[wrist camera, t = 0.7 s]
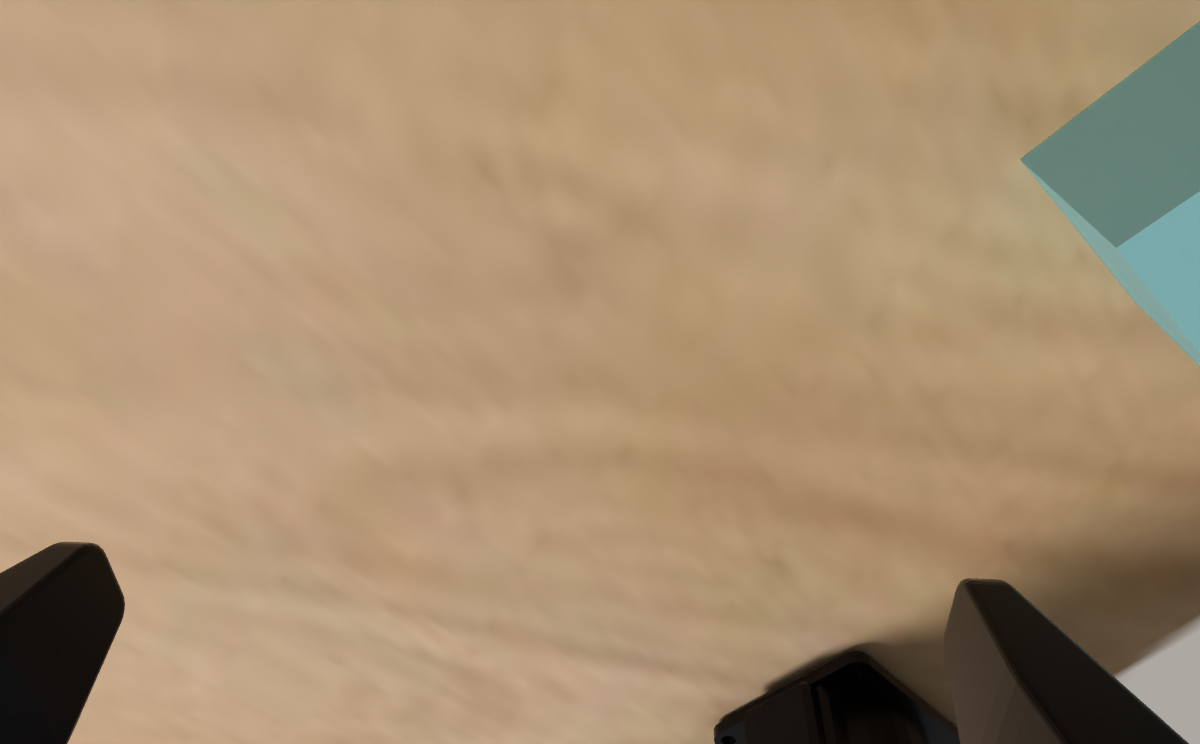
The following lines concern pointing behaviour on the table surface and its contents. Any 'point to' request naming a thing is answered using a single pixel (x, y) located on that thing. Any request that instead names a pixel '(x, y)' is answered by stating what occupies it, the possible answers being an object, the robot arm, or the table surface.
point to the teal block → (1139, 185)
